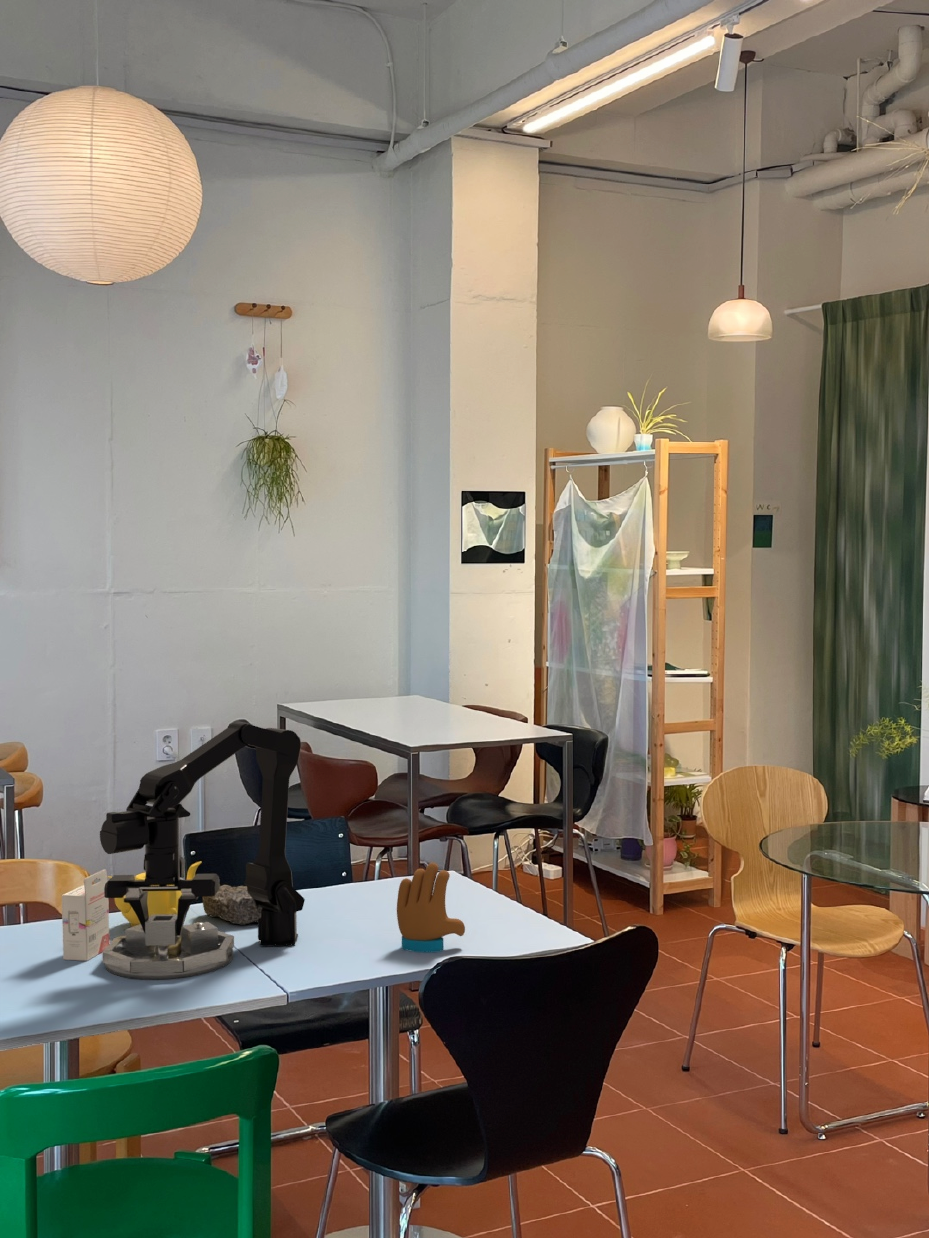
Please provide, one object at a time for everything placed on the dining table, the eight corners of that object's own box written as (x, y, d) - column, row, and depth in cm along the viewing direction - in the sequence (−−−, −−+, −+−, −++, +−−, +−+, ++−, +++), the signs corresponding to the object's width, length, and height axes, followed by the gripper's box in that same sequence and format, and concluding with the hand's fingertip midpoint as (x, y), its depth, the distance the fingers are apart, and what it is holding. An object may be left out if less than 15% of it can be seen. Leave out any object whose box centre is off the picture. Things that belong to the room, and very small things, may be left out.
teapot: (127, 943, 233) (126, 882, 233) (93, 927, 244) (92, 869, 244) (222, 924, 246) (221, 866, 246) (185, 910, 257) (185, 854, 257)
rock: (286, 922, 248) (255, 908, 261) (286, 889, 249) (255, 877, 261) (226, 930, 242) (197, 915, 254) (226, 896, 242) (197, 883, 254)
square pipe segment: (180, 936, 219) (180, 914, 219) (175, 945, 214) (174, 921, 214) (151, 937, 219) (151, 914, 218) (145, 945, 214) (145, 922, 213)
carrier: (241, 942, 233) (241, 911, 233) (222, 978, 211) (222, 944, 211) (122, 944, 232) (121, 912, 232) (90, 980, 210) (90, 946, 210)
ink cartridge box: (85, 946, 231) (84, 867, 231) (110, 948, 230) (109, 868, 230) (61, 960, 223) (60, 877, 222) (87, 961, 222) (86, 878, 221)
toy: (467, 944, 231) (466, 863, 230) (453, 955, 224) (453, 871, 224) (406, 939, 235) (406, 859, 234) (391, 949, 228) (391, 867, 228)
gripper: (224, 835, 224) (225, 922, 225) (118, 836, 224) (120, 923, 224) (213, 848, 213) (214, 939, 213) (102, 849, 212) (104, 941, 213)
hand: (163, 935), depth 216 cm, fingers closed on square pipe segment, 5 cm apart
